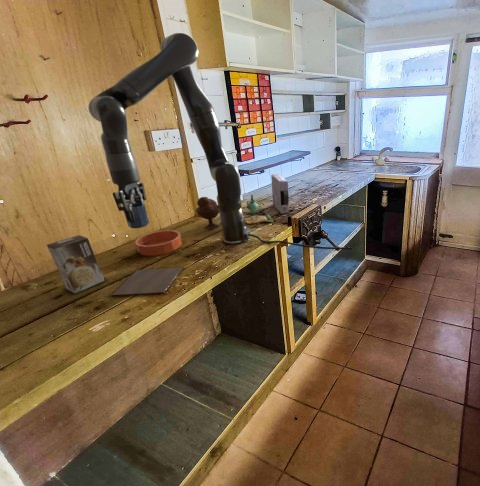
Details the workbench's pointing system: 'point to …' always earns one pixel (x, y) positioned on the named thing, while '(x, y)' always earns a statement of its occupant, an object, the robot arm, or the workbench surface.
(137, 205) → the blue cup
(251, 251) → the workbench surface
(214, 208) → the ice cream bowl
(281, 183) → the cake pan box
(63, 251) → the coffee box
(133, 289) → the walnut mat
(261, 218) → the frog figurine
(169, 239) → the terracotta bowl
